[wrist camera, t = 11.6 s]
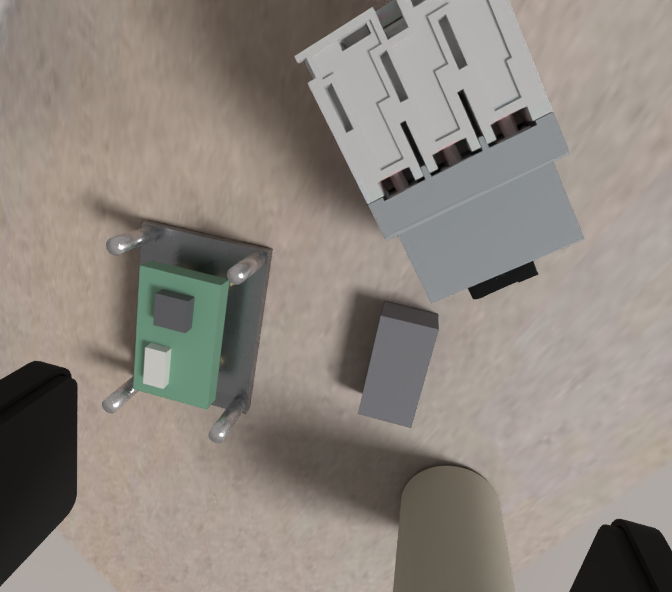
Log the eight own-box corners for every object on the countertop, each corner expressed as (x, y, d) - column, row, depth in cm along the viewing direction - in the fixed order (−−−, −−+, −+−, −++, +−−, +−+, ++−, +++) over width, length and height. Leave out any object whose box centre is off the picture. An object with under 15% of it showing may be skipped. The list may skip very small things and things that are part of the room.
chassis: (148, 220, 39) (105, 234, 34) (272, 248, 38) (247, 268, 32) (139, 378, 43) (100, 411, 38) (249, 407, 42) (224, 446, 37)
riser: (384, 301, 37) (380, 315, 34) (438, 314, 37) (438, 329, 34) (363, 393, 40) (357, 413, 37) (412, 406, 40) (411, 427, 37)
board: (151, 260, 36) (131, 269, 34) (229, 279, 36) (215, 289, 33) (143, 379, 40) (125, 395, 37) (215, 399, 39) (201, 416, 37)
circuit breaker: (441, 273, 36) (447, 365, 22) (351, 82, 33) (290, 49, 19) (546, 227, 34) (627, 298, 20) (459, 19, 31) (480, -72, 17)
